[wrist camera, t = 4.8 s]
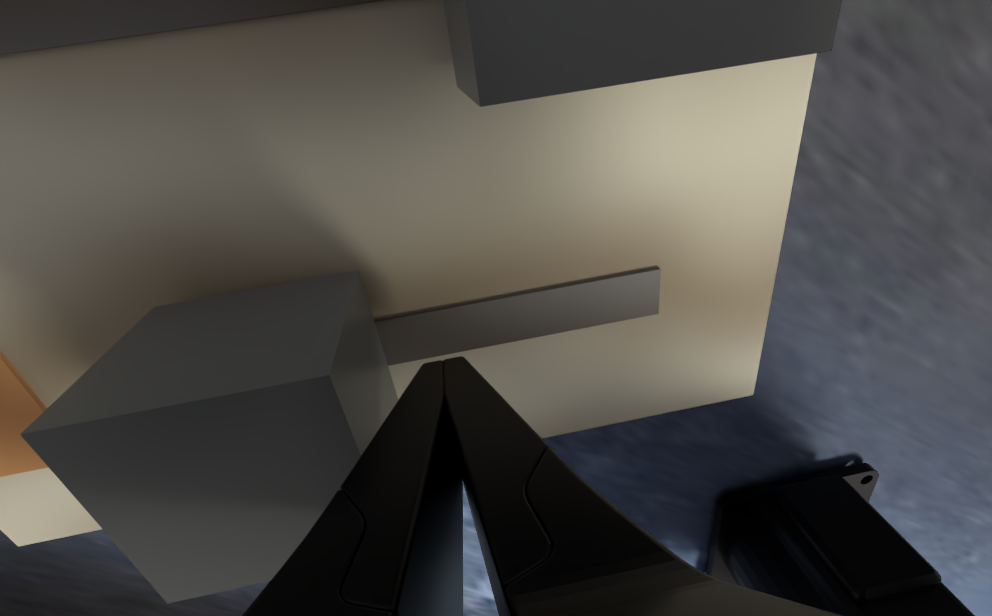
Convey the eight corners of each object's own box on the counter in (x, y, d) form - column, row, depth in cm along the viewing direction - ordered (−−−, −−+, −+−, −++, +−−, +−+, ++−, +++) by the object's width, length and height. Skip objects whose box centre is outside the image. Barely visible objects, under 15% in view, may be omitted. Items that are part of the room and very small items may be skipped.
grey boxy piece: (404, 418, 11) (398, 553, 8) (237, 451, 11) (167, 603, 8) (358, 270, 9) (329, 375, 6) (154, 306, 9) (19, 434, 6)
